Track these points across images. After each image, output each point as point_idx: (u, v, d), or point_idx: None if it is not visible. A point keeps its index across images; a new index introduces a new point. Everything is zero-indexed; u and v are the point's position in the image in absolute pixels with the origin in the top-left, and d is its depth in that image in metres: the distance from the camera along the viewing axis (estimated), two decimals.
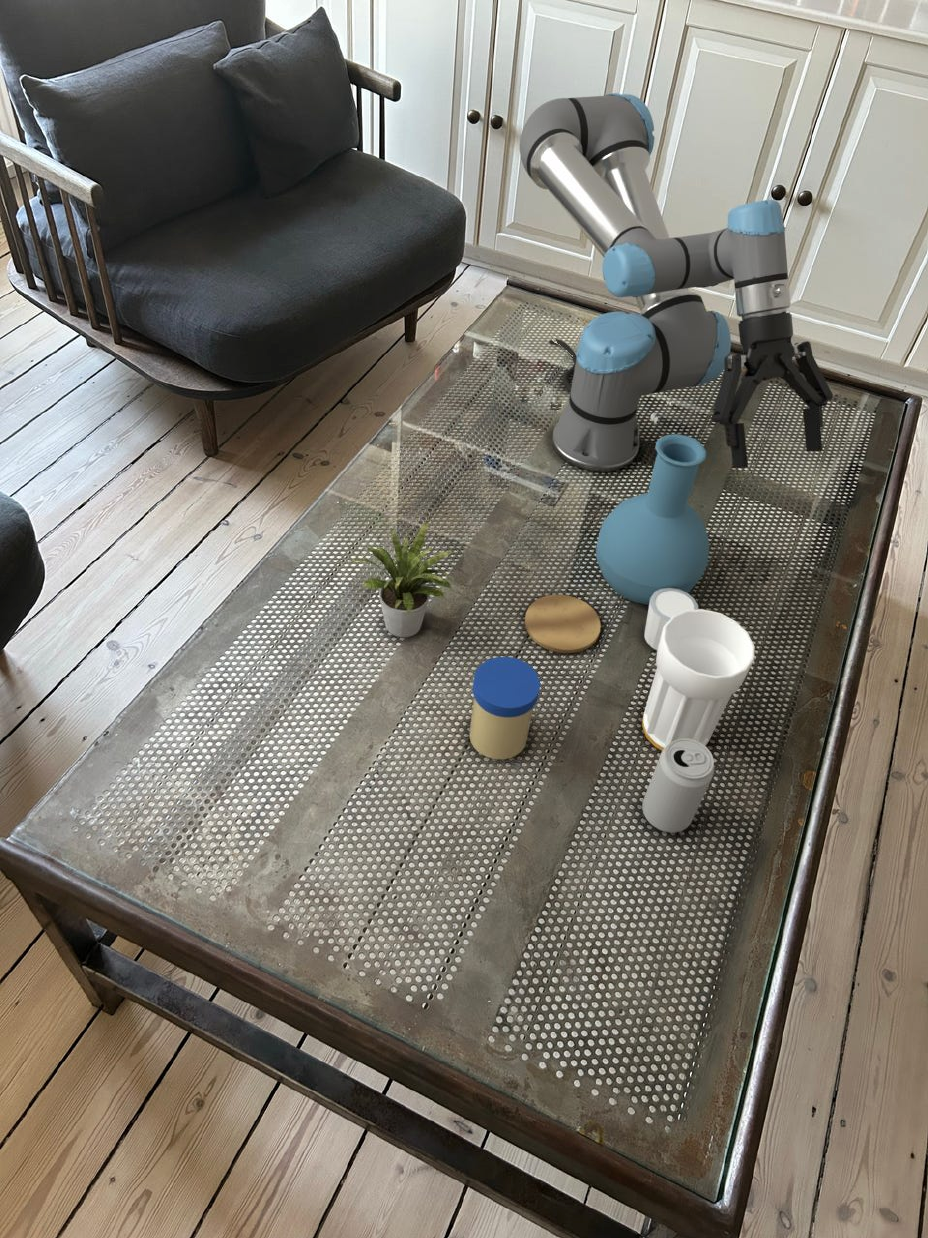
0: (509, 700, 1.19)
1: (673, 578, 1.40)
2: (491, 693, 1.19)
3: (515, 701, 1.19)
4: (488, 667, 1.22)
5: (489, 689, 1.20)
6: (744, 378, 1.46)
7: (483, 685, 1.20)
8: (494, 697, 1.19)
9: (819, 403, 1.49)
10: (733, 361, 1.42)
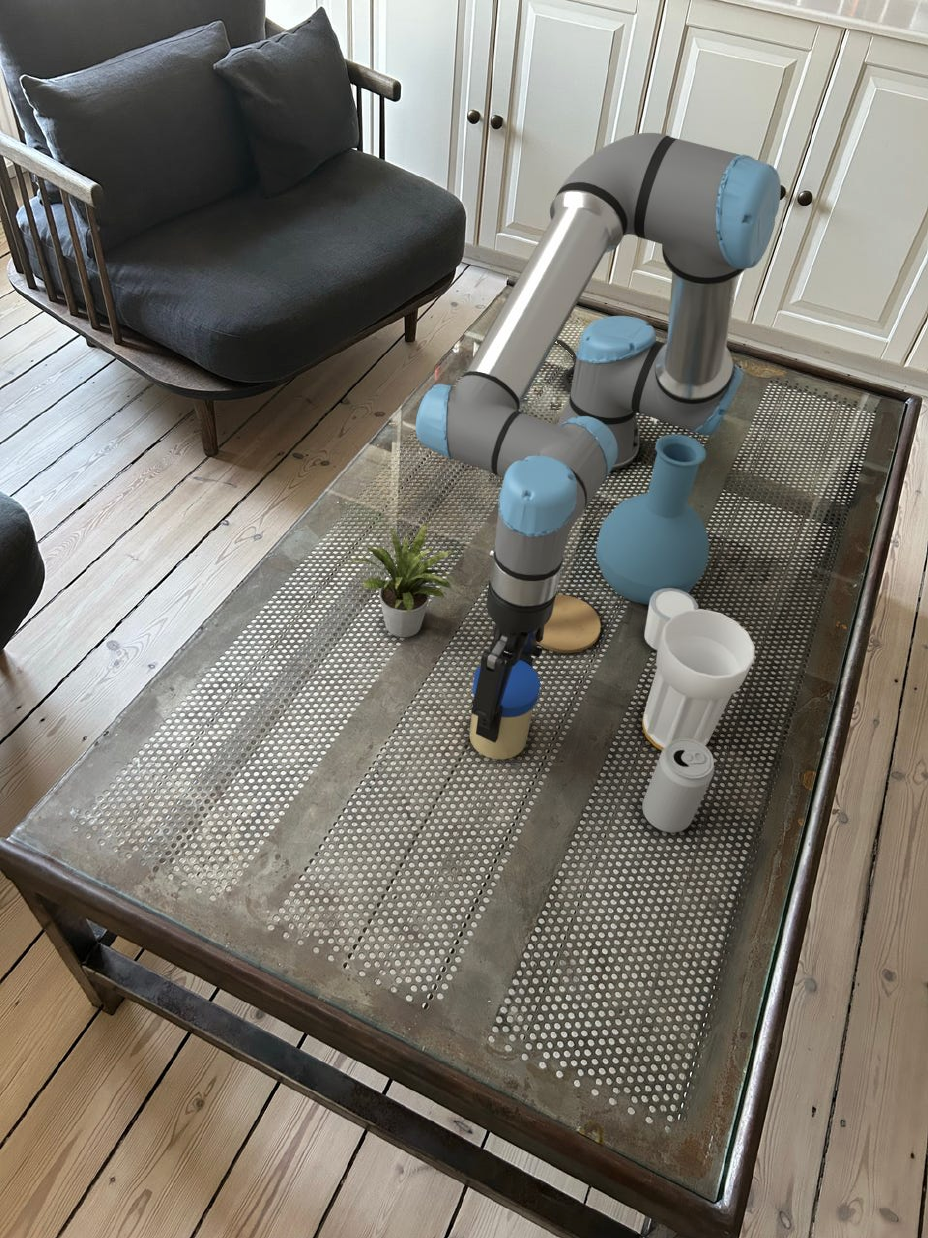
0: (509, 700, 1.19)
1: (673, 578, 1.40)
2: None
3: (515, 701, 1.19)
4: None
5: None
6: None
7: None
8: None
9: None
10: None
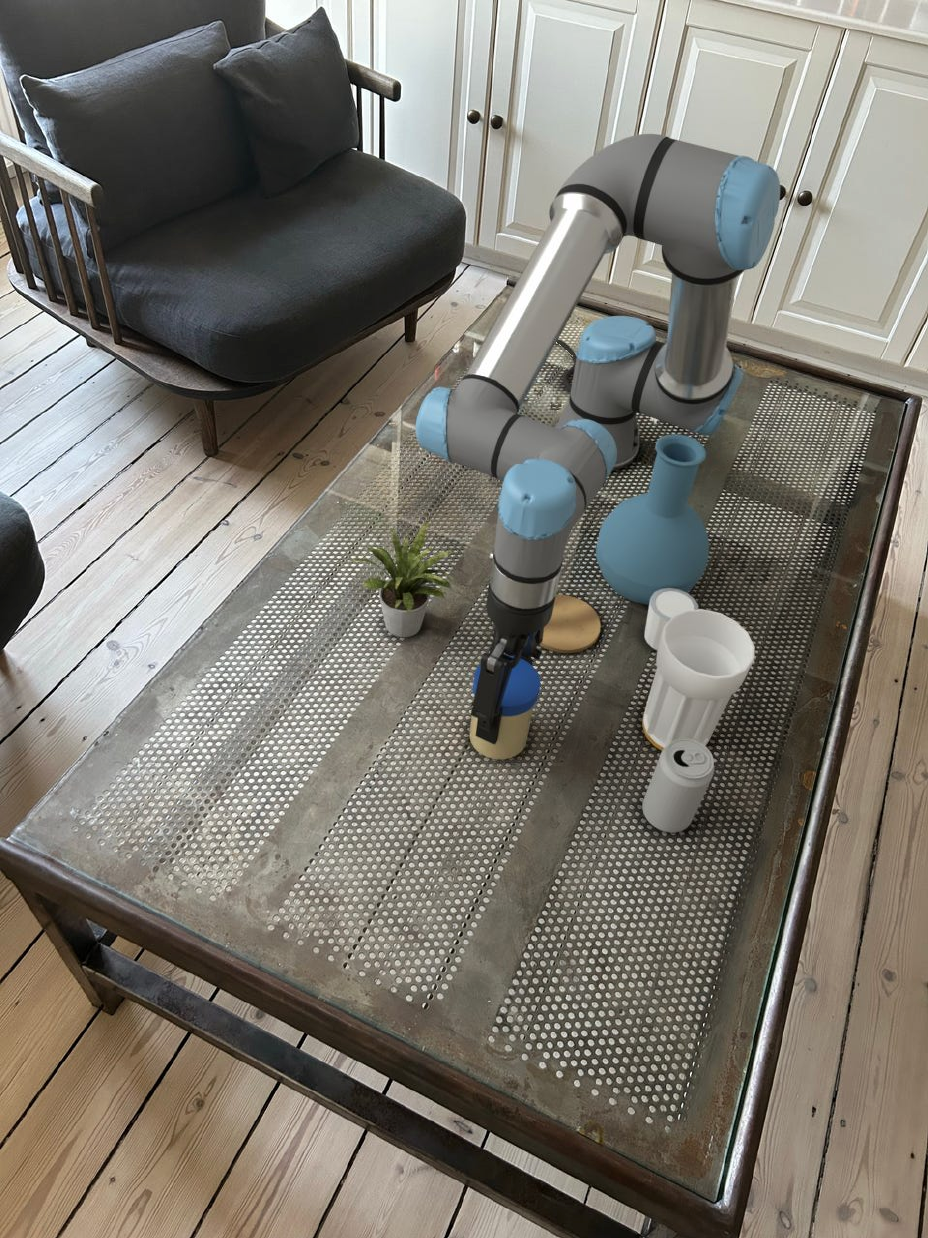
0: (530, 677, 1.21)
1: (673, 578, 1.40)
2: (526, 691, 1.19)
3: (529, 672, 1.22)
4: None
5: (521, 693, 1.19)
6: None
7: (518, 698, 1.19)
8: (530, 688, 1.20)
9: None
10: None
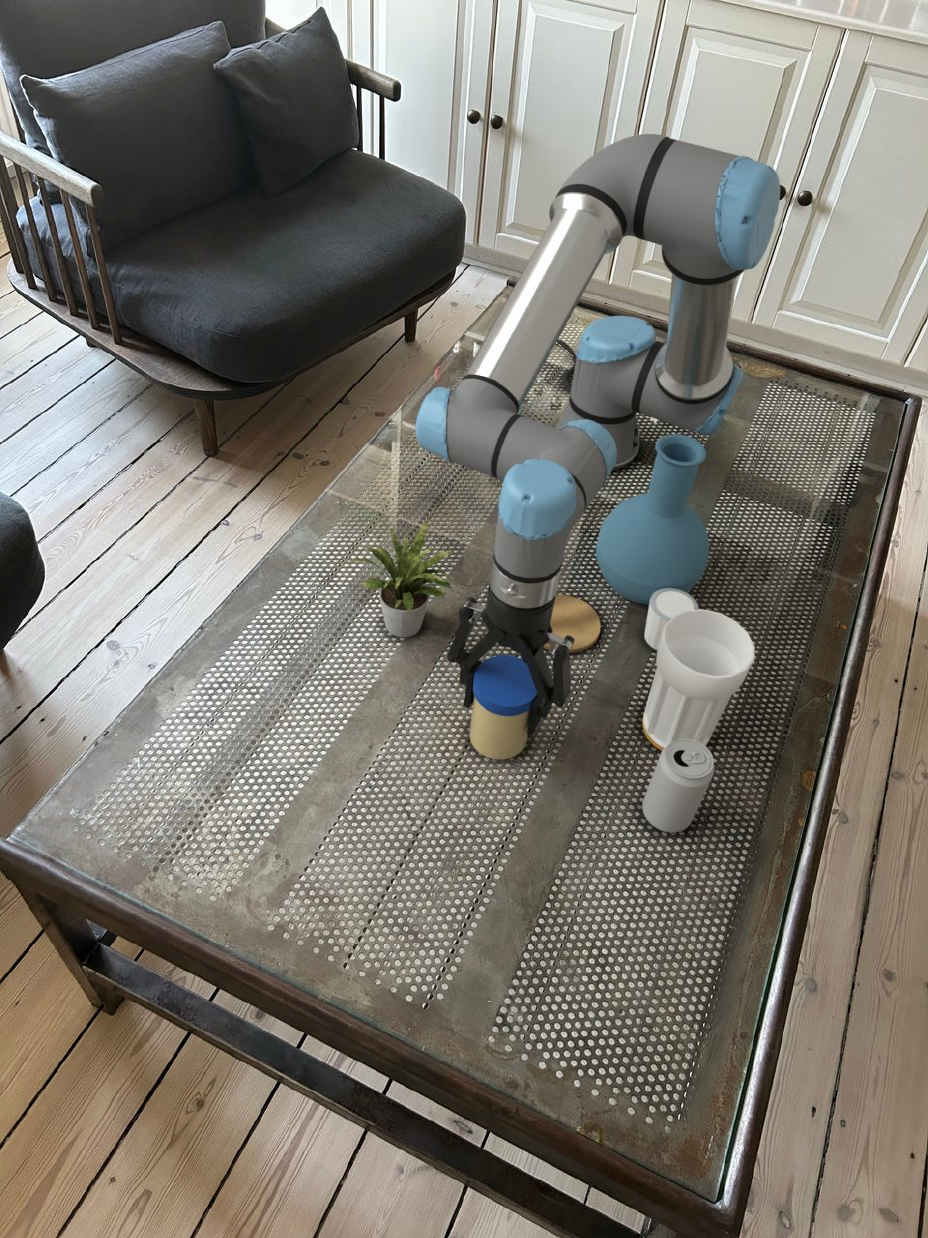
0: (500, 662, 1.22)
1: (673, 578, 1.40)
2: (519, 666, 1.22)
3: (494, 662, 1.22)
4: (529, 692, 1.19)
5: (522, 670, 1.22)
6: None
7: (528, 673, 1.21)
8: (515, 663, 1.22)
9: (541, 701, 1.18)
10: None
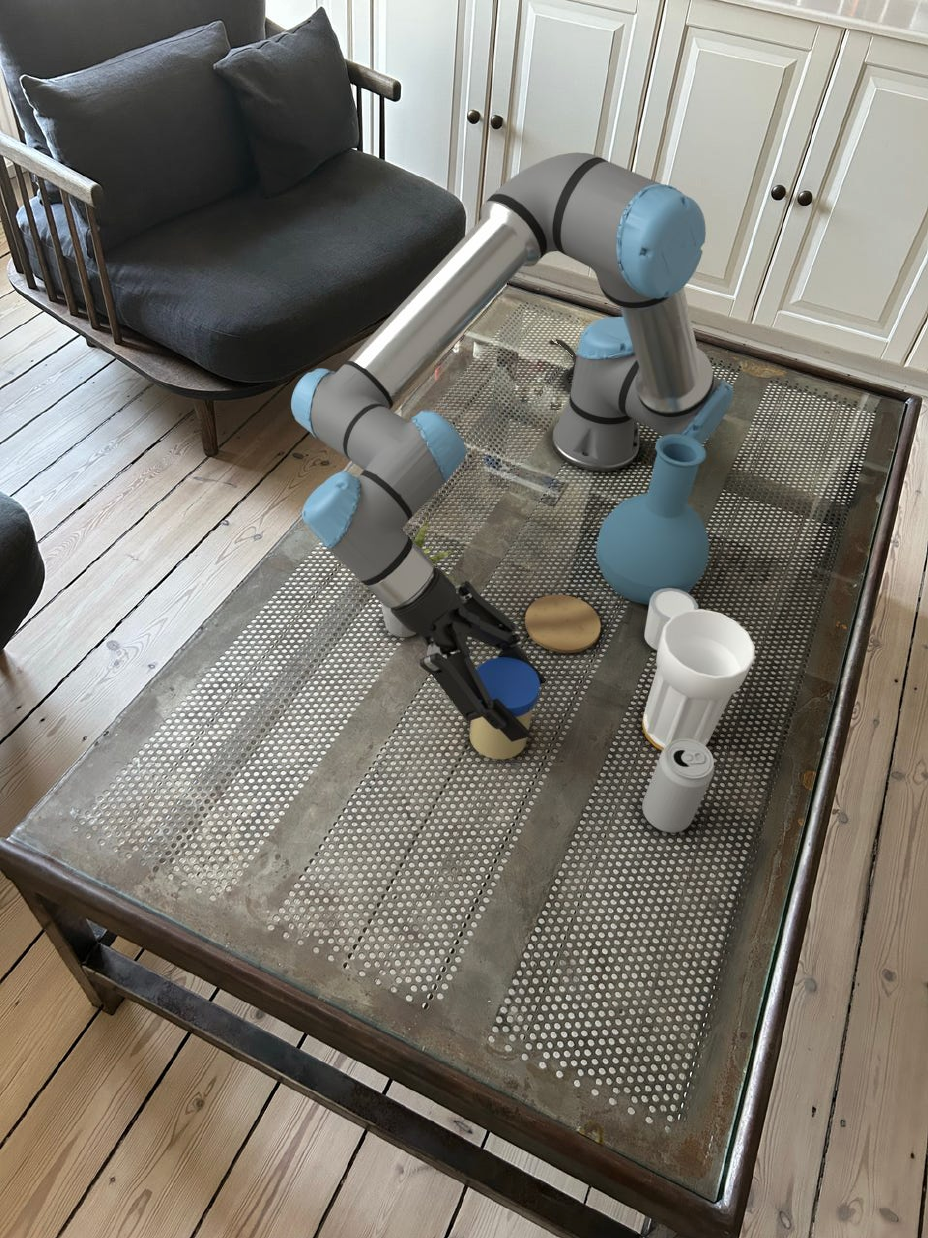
0: (497, 665, 1.22)
1: (673, 578, 1.40)
2: (516, 667, 1.22)
3: (491, 665, 1.22)
4: (530, 691, 1.20)
5: (519, 670, 1.22)
6: None
7: (526, 672, 1.22)
8: (511, 664, 1.23)
9: None
10: None
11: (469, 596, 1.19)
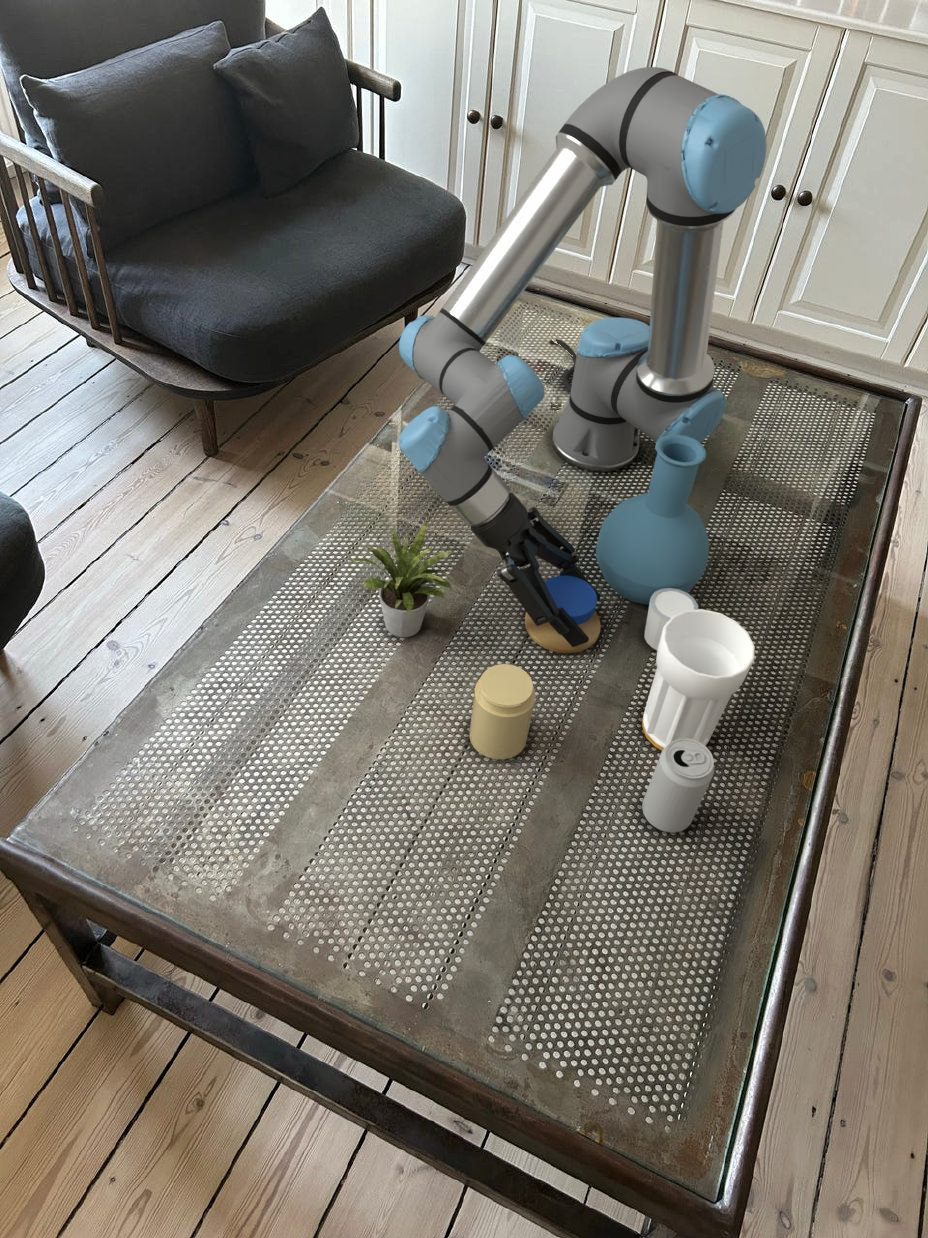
0: (559, 581, 1.40)
1: (673, 578, 1.40)
2: (575, 583, 1.40)
3: (554, 581, 1.40)
4: (589, 602, 1.38)
5: (578, 586, 1.40)
6: None
7: (585, 587, 1.40)
8: (571, 581, 1.41)
9: None
10: None
11: (536, 519, 1.37)
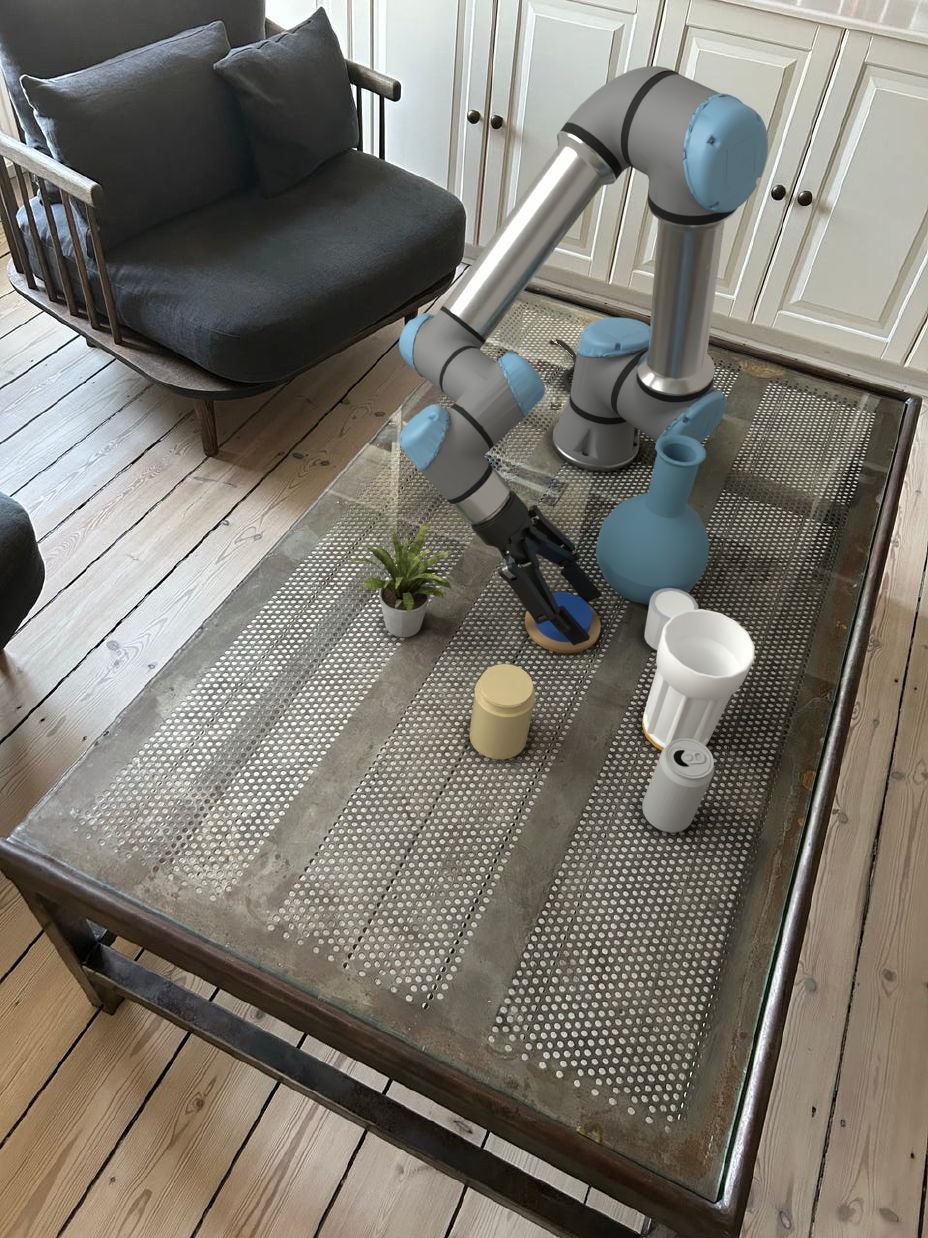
0: (555, 598, 1.43)
1: (673, 578, 1.40)
2: (571, 600, 1.43)
3: None
4: (584, 619, 1.40)
5: (574, 602, 1.43)
6: None
7: (580, 604, 1.42)
8: (567, 597, 1.43)
9: None
10: None
11: (537, 517, 1.37)
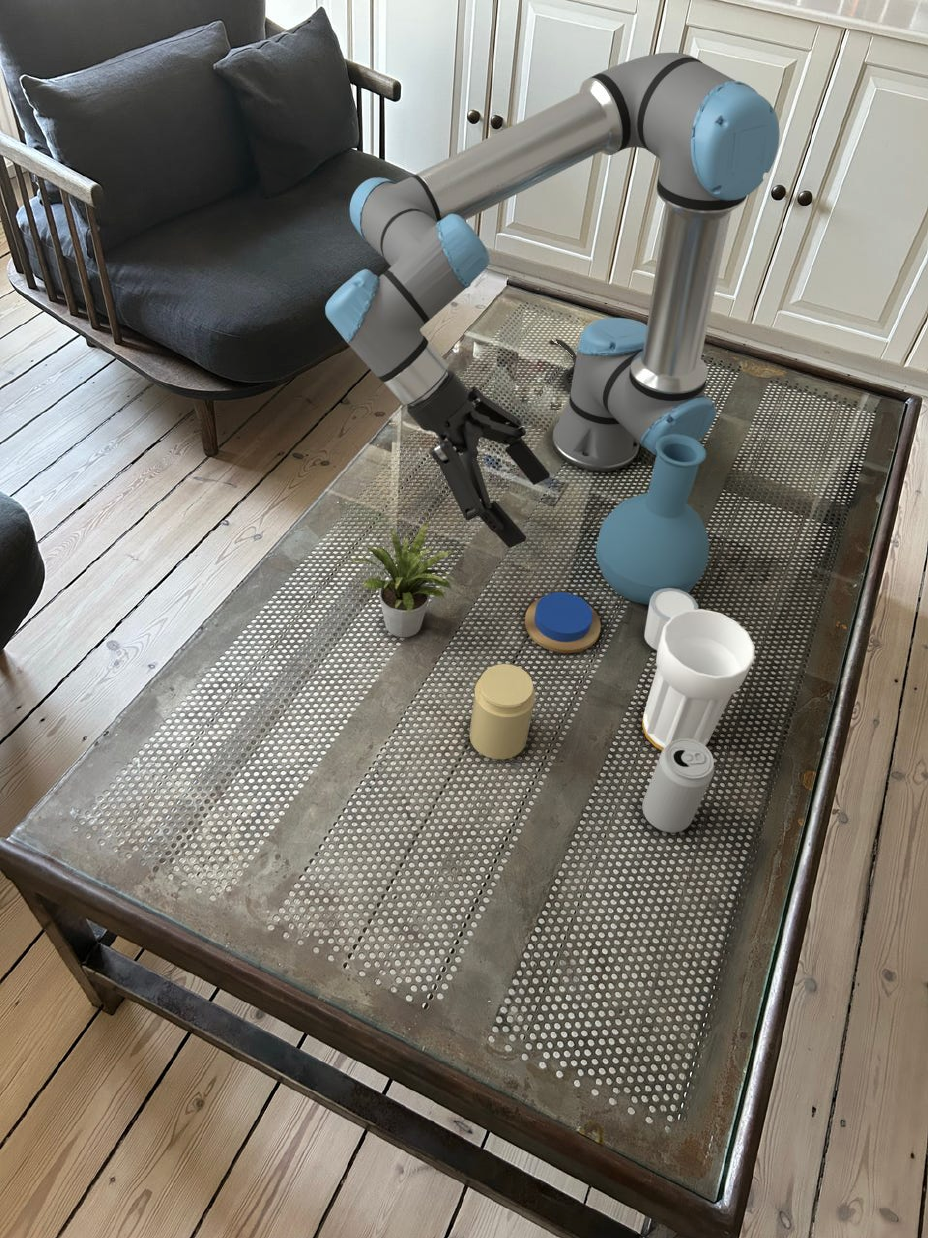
0: (555, 598, 1.43)
1: (673, 578, 1.40)
2: (571, 600, 1.43)
3: (550, 598, 1.43)
4: (584, 619, 1.40)
5: (574, 602, 1.43)
6: None
7: (580, 604, 1.42)
8: (567, 597, 1.43)
9: None
10: None
11: (478, 400, 1.27)
